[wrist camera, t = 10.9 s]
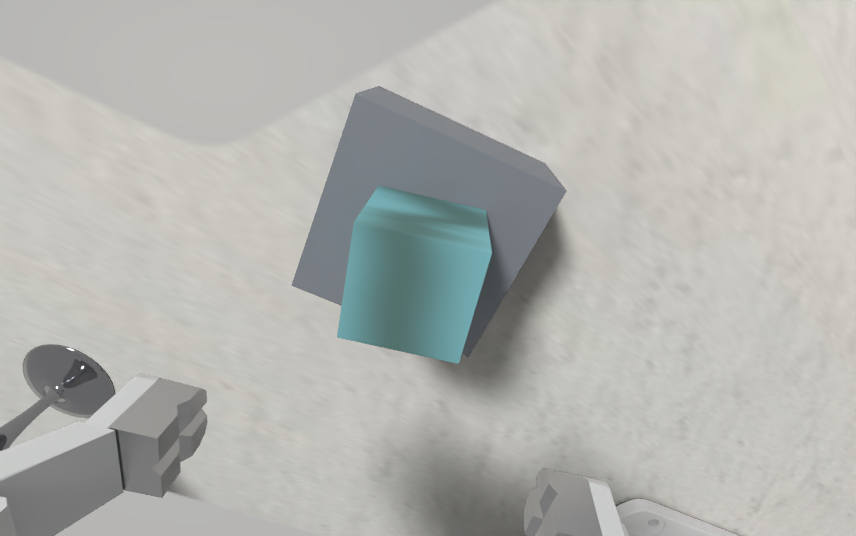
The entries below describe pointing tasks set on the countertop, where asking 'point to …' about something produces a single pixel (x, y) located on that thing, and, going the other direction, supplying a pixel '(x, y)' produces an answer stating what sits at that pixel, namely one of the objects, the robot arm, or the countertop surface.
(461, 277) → the teal block
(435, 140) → the charcoal block
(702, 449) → the countertop surface
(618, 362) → the countertop surface
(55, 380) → the wine glass
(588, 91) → the countertop surface
